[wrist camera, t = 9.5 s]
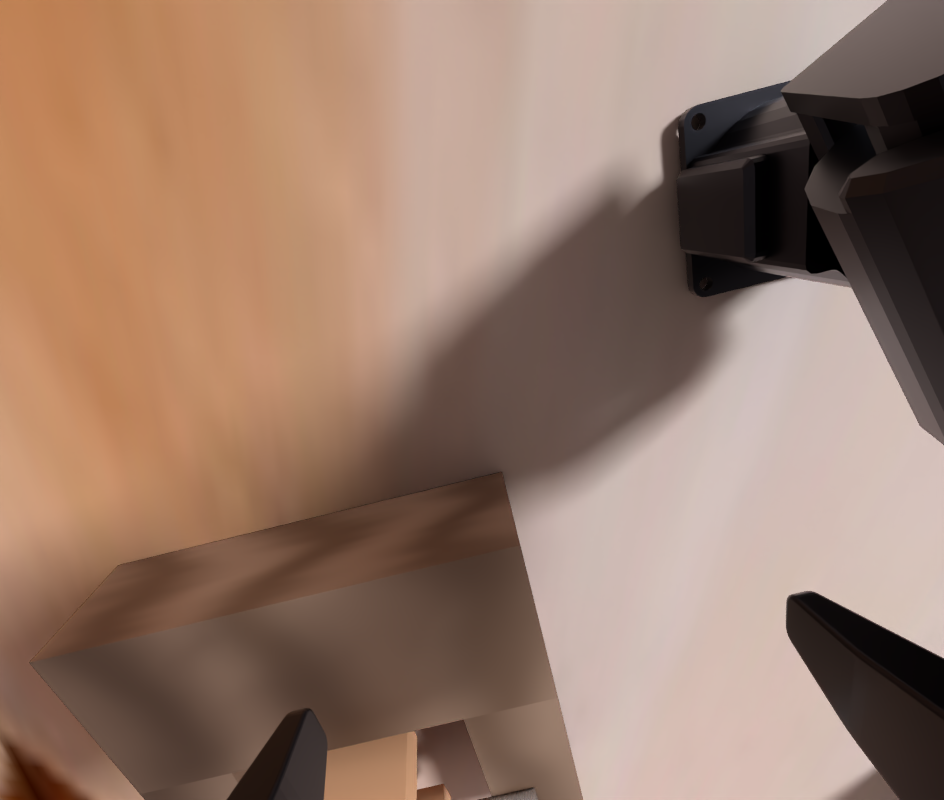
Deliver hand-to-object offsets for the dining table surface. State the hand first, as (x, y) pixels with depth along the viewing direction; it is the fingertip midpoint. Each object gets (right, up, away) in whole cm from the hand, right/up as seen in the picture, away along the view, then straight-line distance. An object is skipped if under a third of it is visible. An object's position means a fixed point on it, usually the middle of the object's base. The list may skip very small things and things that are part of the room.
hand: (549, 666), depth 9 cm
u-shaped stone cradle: (-6, -9, +16) cm, 20 cm away
